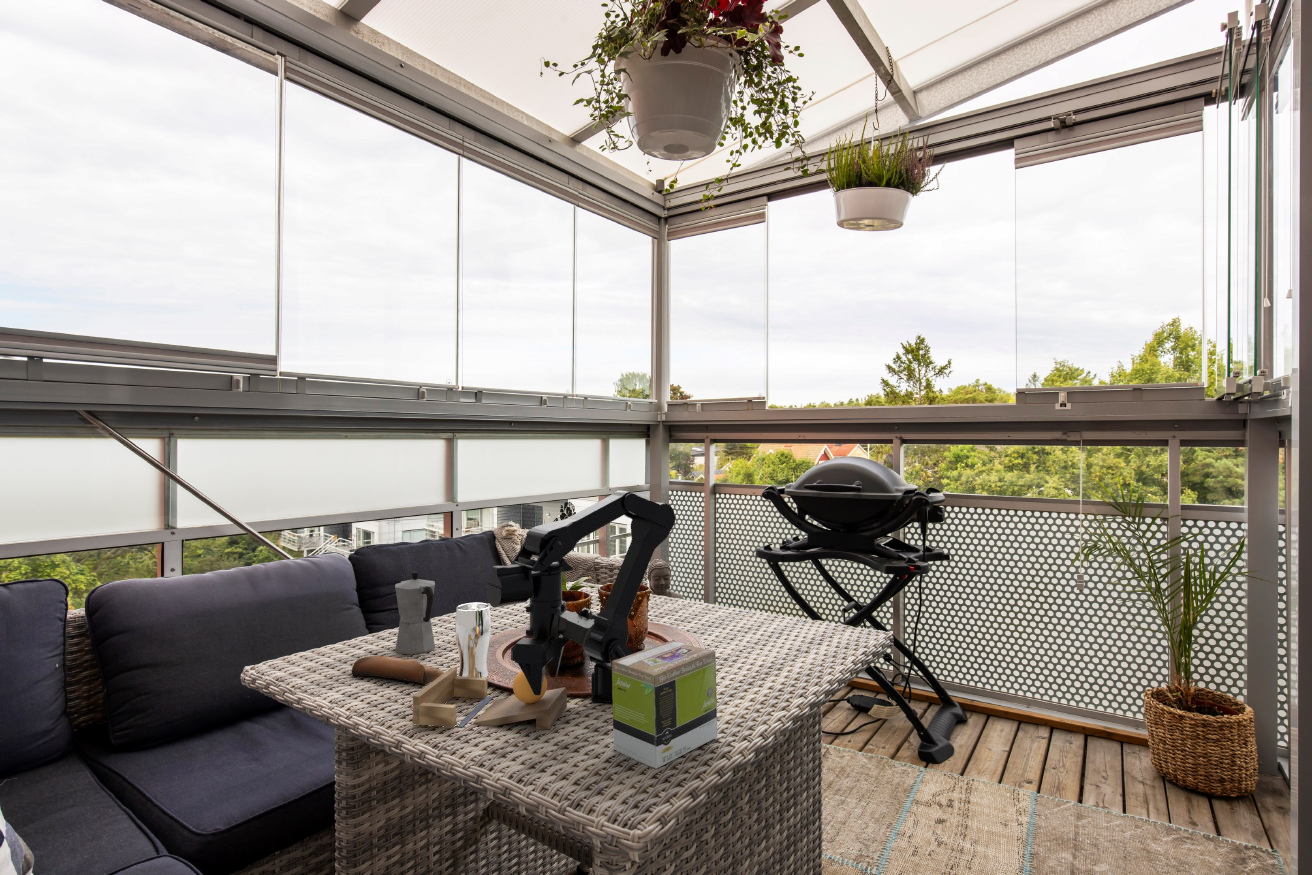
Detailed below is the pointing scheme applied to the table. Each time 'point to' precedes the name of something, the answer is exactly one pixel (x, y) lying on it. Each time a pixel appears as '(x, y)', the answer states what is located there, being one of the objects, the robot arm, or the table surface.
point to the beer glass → (473, 638)
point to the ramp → (526, 710)
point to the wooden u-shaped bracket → (447, 699)
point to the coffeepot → (415, 615)
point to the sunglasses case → (396, 669)
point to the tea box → (664, 702)
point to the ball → (527, 689)
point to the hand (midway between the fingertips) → (545, 685)
